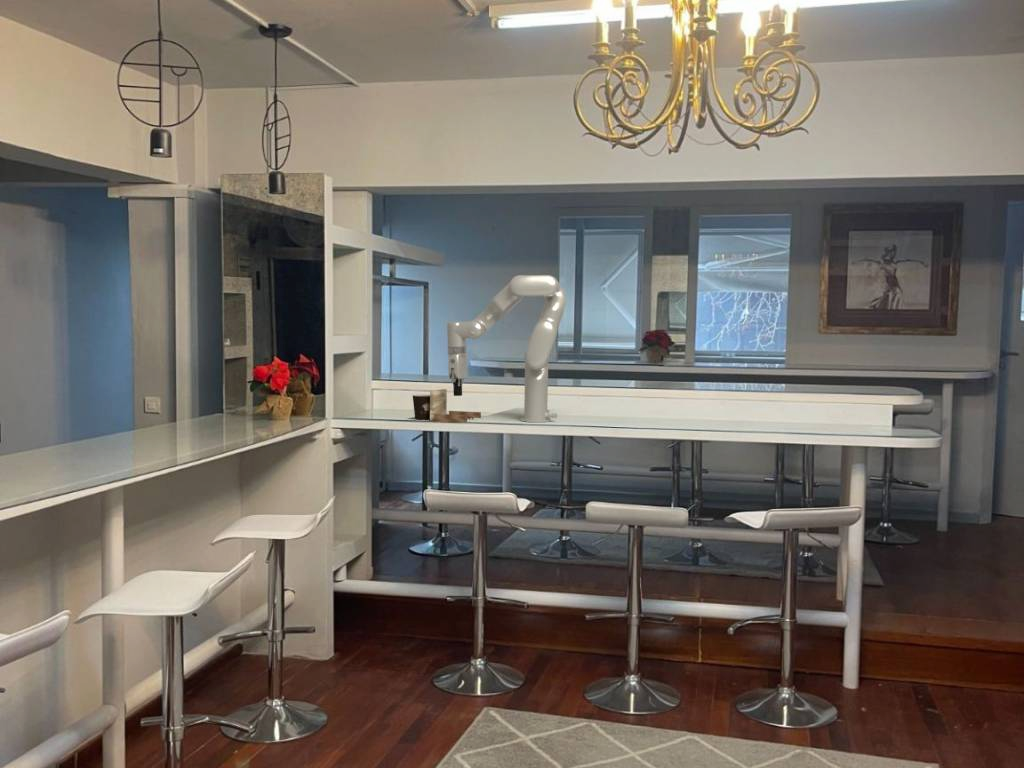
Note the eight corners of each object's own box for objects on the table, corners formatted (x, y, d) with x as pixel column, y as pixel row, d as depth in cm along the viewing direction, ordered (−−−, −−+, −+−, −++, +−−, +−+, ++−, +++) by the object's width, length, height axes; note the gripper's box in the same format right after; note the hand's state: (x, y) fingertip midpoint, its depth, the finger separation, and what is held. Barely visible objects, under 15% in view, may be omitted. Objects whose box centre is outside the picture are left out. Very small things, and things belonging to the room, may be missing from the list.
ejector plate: (446, 417, 406) (446, 389, 405) (433, 420, 393) (433, 391, 392) (443, 417, 407) (443, 389, 406) (429, 420, 394) (430, 391, 393)
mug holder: (480, 419, 403) (480, 412, 403) (466, 423, 387) (466, 415, 387) (450, 417, 407) (450, 410, 407) (434, 421, 391) (434, 414, 391)
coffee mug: (412, 420, 395) (412, 396, 394) (412, 418, 403) (412, 394, 402) (440, 420, 396) (441, 396, 395) (439, 418, 404) (440, 394, 404)
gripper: (458, 351, 387) (459, 397, 388) (471, 350, 401) (472, 394, 402) (441, 352, 390) (442, 397, 391) (455, 350, 404) (456, 394, 405)
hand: (457, 395), depth 397 cm, fingers closed
